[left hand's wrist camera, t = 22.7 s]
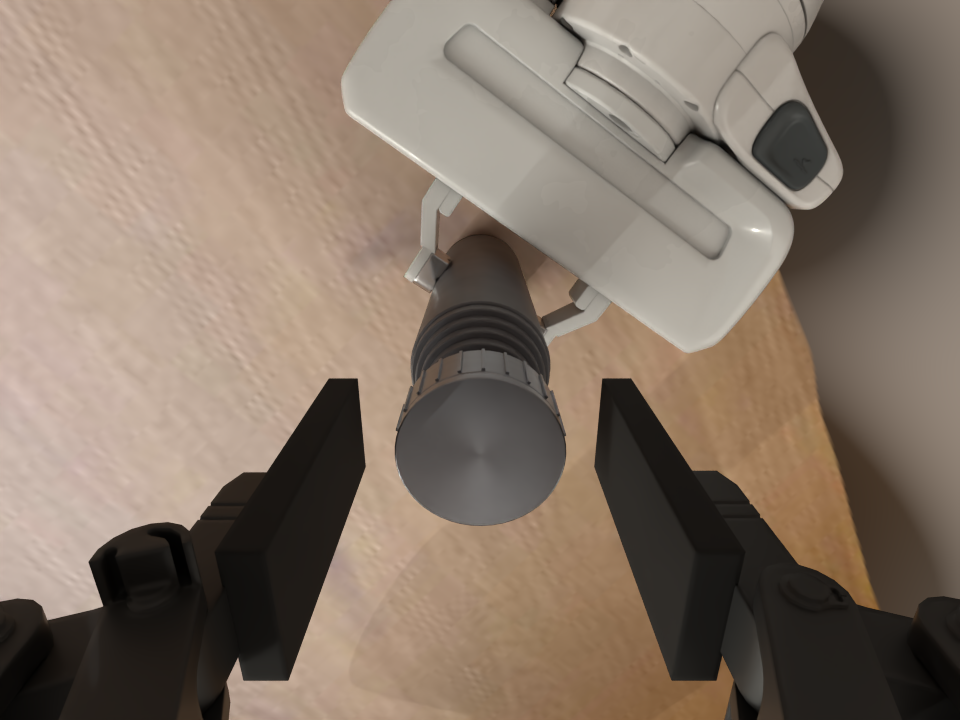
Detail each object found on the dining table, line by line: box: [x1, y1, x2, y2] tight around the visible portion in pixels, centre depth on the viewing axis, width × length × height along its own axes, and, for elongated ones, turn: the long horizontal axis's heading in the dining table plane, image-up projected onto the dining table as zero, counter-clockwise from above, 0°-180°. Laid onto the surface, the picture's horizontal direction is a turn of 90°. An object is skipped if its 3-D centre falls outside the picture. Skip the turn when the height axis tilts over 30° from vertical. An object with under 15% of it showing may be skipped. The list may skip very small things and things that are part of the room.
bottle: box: [411, 235, 550, 386], centre depth 23 cm, size 5×5×20 cm
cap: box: [395, 349, 566, 526], centre depth 14 cm, size 4×4×2 cm
